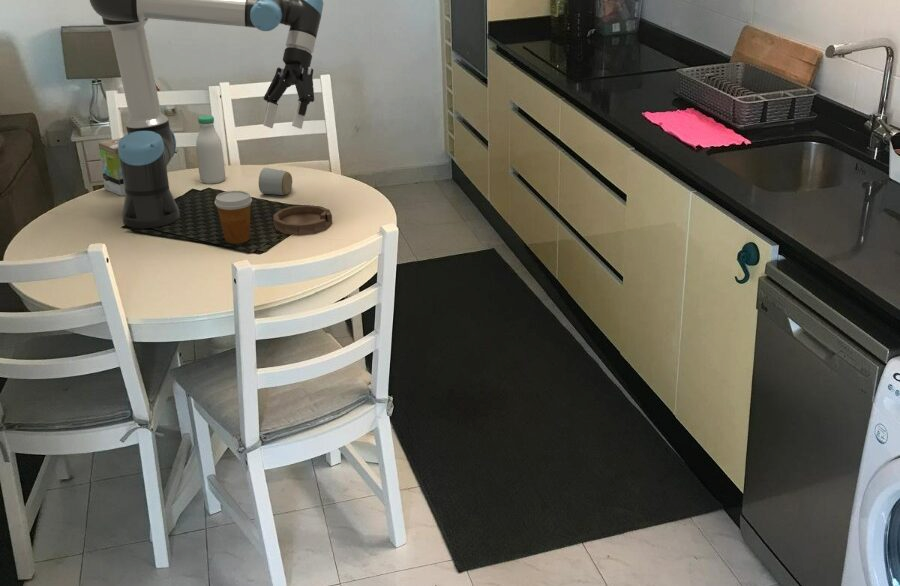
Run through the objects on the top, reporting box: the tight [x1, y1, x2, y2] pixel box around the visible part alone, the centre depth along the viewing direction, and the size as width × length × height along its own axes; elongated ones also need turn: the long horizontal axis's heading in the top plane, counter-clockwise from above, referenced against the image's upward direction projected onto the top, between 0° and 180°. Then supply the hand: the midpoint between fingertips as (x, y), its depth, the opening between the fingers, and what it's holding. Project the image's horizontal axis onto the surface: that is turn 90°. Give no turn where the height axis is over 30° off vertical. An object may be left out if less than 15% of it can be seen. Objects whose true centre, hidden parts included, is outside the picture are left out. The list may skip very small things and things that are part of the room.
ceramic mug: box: [258, 167, 293, 196], centre depth 286 cm, size 11×8×8 cm
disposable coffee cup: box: [214, 190, 253, 245], centre depth 251 cm, size 10×10×12 cm
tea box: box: [98, 137, 126, 197], centre depth 289 cm, size 15×10×15 cm, turn 138°
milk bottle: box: [195, 114, 226, 185], centre depth 293 cm, size 8×8×20 cm
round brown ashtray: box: [272, 204, 333, 236], centre depth 262 cm, size 15×15×3 cm
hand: (282, 127), depth 260 cm, fingers open, 13 cm apart
